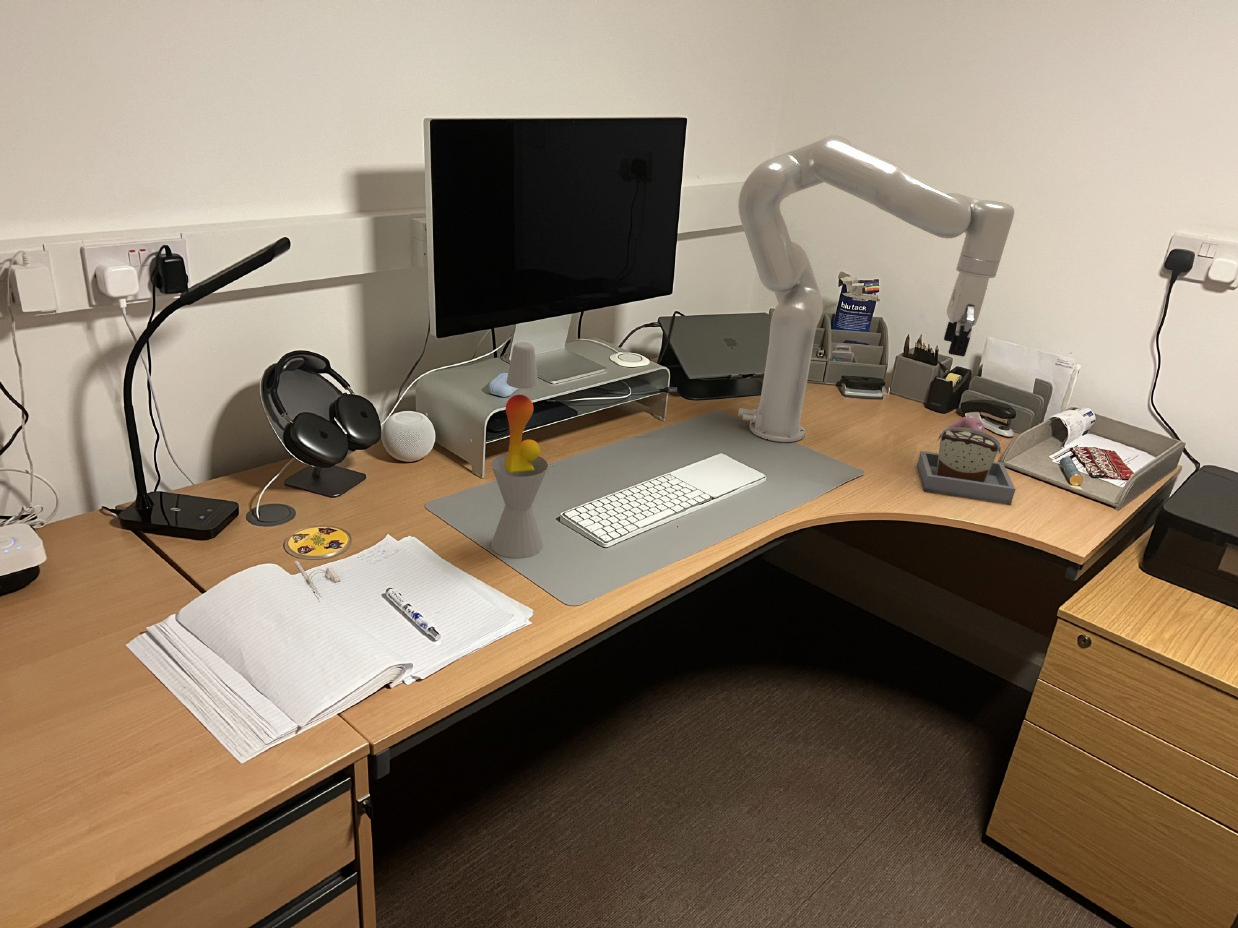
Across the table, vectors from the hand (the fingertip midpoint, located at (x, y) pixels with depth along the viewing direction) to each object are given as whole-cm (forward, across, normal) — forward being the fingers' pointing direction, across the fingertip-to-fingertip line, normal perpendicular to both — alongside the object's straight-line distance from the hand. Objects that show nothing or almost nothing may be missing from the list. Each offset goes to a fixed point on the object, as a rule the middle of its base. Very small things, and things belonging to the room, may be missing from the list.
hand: (953, 348), depth 182 cm
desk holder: (+26, +9, +8) cm, 28 cm away
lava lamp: (+28, +65, -70) cm, 100 cm away
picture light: (+30, +85, -95) cm, 131 cm away
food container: (+25, +7, +7) cm, 27 cm away
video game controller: (+26, -16, +11) cm, 32 cm away
